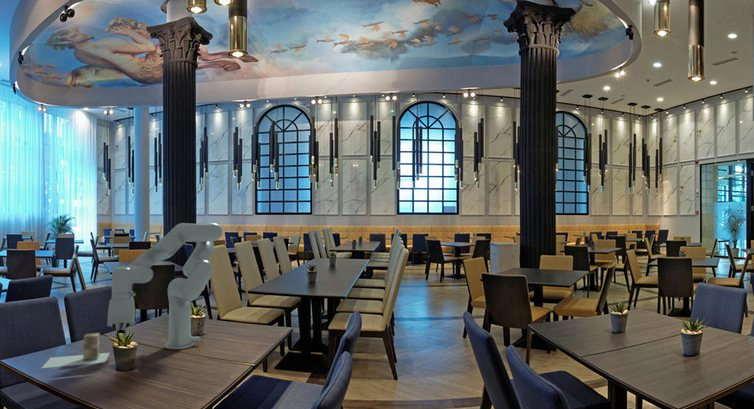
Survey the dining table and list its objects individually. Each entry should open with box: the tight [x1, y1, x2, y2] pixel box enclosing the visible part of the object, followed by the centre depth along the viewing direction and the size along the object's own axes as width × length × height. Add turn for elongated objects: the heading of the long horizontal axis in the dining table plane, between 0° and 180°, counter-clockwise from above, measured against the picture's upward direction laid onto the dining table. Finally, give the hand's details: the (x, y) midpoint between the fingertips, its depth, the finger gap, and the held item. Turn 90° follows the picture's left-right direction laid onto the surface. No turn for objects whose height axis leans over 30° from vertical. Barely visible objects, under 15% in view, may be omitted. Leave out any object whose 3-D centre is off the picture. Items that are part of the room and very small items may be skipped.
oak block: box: [82, 332, 101, 361], centre depth 201 cm, size 5×5×10 cm
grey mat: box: [41, 352, 110, 369], centre depth 199 cm, size 22×14×1 cm, turn 112°
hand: (120, 339), depth 205 cm, fingers closed
